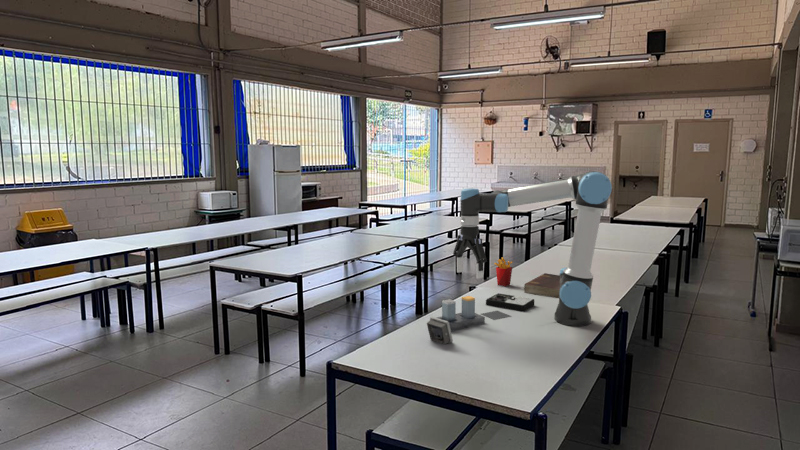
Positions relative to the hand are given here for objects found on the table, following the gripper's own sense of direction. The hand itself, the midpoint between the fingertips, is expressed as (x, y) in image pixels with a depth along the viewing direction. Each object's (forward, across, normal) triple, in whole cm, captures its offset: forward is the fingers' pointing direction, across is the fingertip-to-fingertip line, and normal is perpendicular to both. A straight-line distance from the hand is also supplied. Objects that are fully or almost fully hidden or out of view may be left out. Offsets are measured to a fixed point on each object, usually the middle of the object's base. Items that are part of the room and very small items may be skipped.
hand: (469, 275), depth 227 cm
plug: (+20, 0, -1) cm, 20 cm away
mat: (+21, -1, +15) cm, 26 cm away
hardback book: (+22, -22, +70) cm, 77 cm away
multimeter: (+21, -10, +31) cm, 39 cm away
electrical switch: (+21, +13, -24) cm, 34 cm away
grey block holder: (+21, 0, -6) cm, 21 cm away
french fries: (+21, -42, +54) cm, 71 cm away
